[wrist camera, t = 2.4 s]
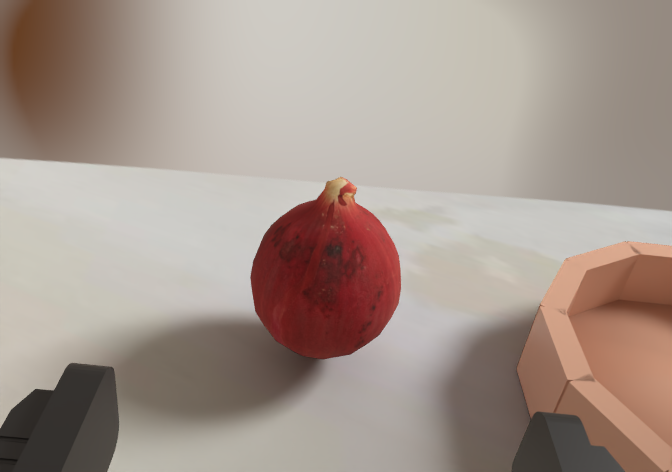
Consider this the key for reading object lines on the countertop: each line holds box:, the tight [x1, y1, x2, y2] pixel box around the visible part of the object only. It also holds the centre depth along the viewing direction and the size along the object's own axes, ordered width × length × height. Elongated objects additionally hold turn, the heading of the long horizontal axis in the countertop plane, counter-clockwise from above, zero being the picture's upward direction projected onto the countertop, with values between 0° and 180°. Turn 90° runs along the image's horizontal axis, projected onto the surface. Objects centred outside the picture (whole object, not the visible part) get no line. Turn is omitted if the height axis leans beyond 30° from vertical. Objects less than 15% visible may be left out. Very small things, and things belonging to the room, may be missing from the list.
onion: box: [250, 177, 401, 359], centre depth 25 cm, size 6×6×8 cm
